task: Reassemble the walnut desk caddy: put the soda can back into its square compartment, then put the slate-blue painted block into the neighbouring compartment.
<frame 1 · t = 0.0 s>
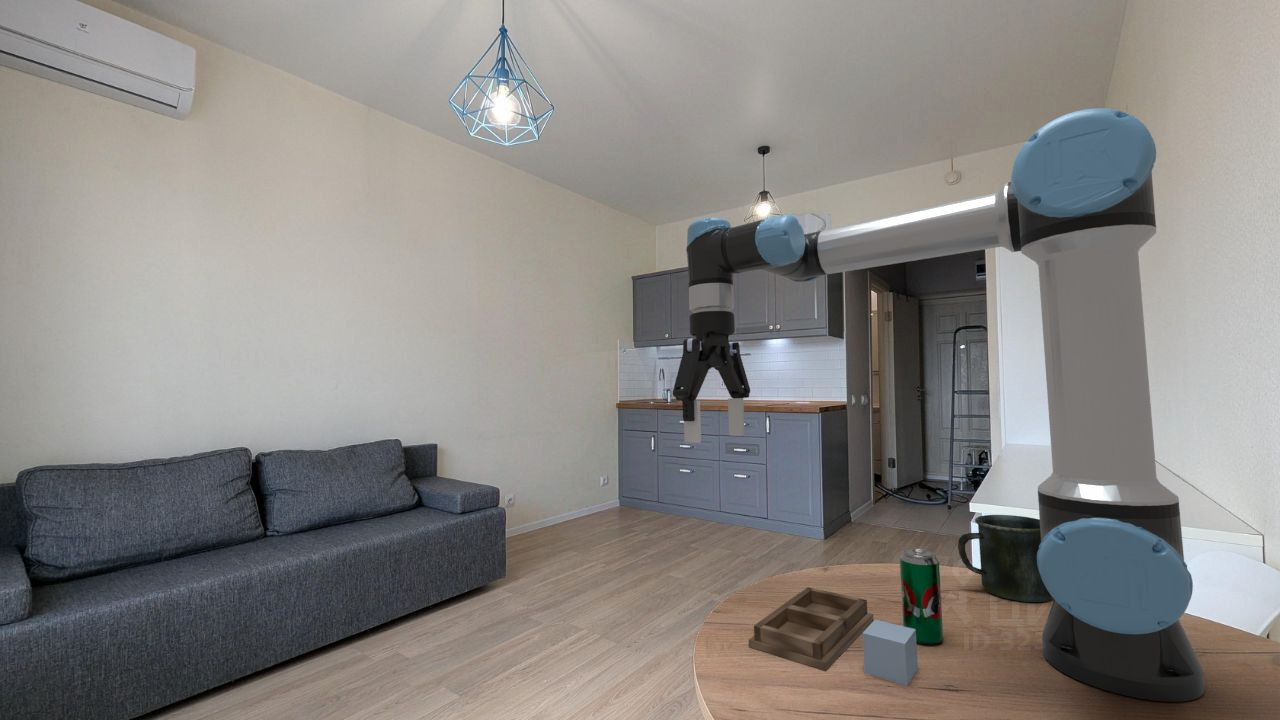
hand: (716, 438, 91), 28 cm above the table, fingers open, 13 cm apart
caddy: (813, 633, 80), on the table
mug: (1007, 593, 94), on the table
soda can: (923, 639, 78), on the table
block: (891, 671, 69), on the table
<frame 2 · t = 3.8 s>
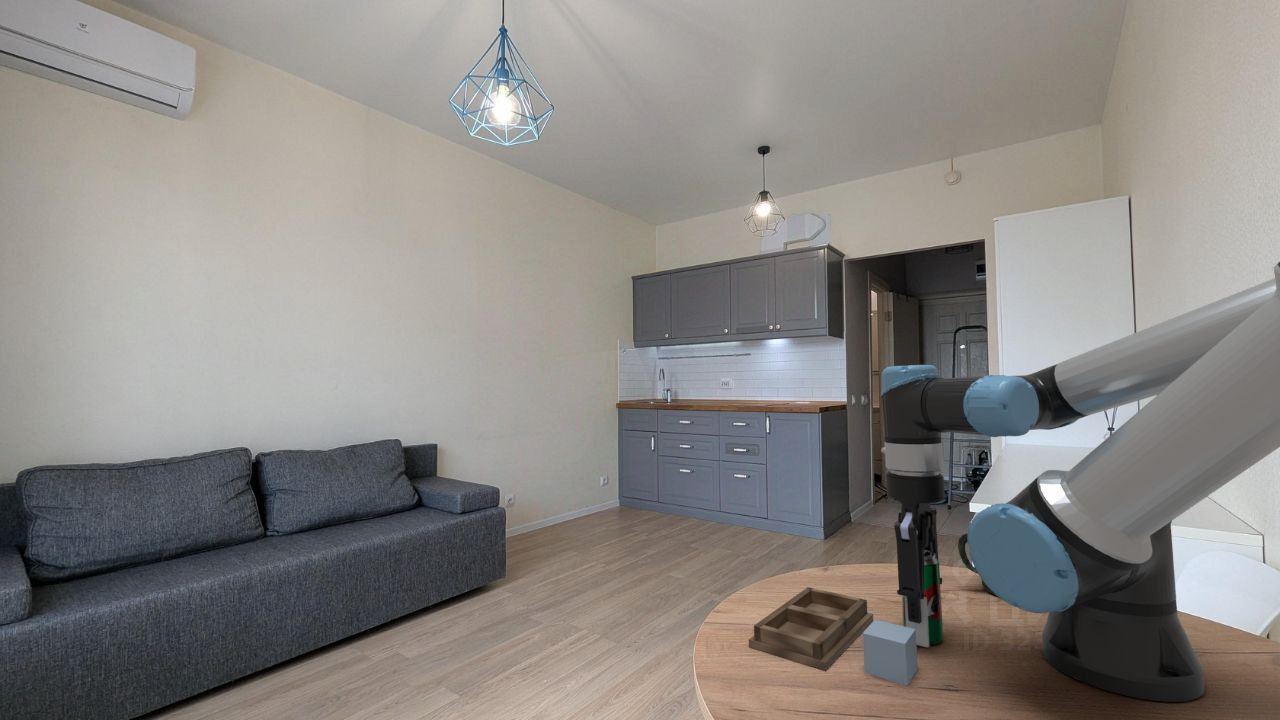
hand: (923, 636, 78), 0 cm above the table, fingers closed on soda can, 5 cm apart
soda can: (923, 639, 78), on the table, touching gripper
everything else where it was.
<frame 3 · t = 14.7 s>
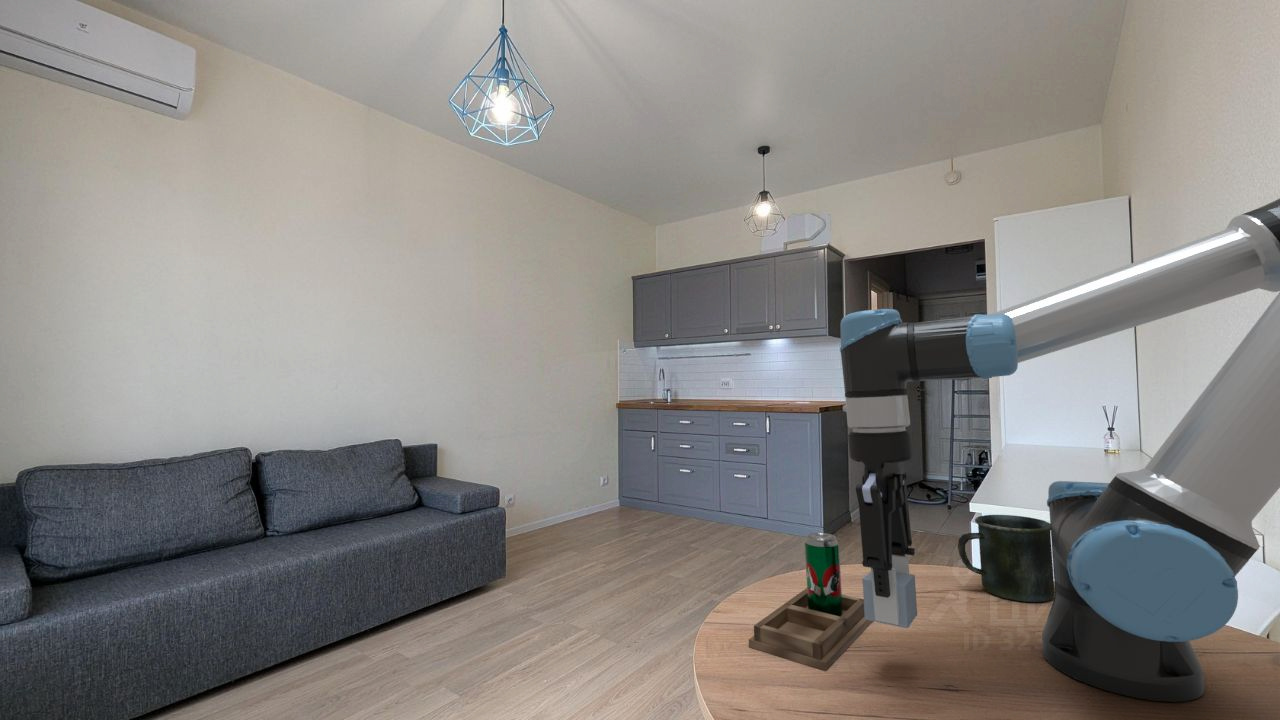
hand: (894, 613, 69), 7 cm above the table, fingers closed on block, 5 cm apart
soda can: (825, 617, 84), point 1 cm above the table, touching caddy
block: (891, 616, 70), point 7 cm above the table, touching gripper
everything else where it was.
when the fingers open (2 cm above the table, at t = 19.6 s): block stays where it is, resting on caddy.
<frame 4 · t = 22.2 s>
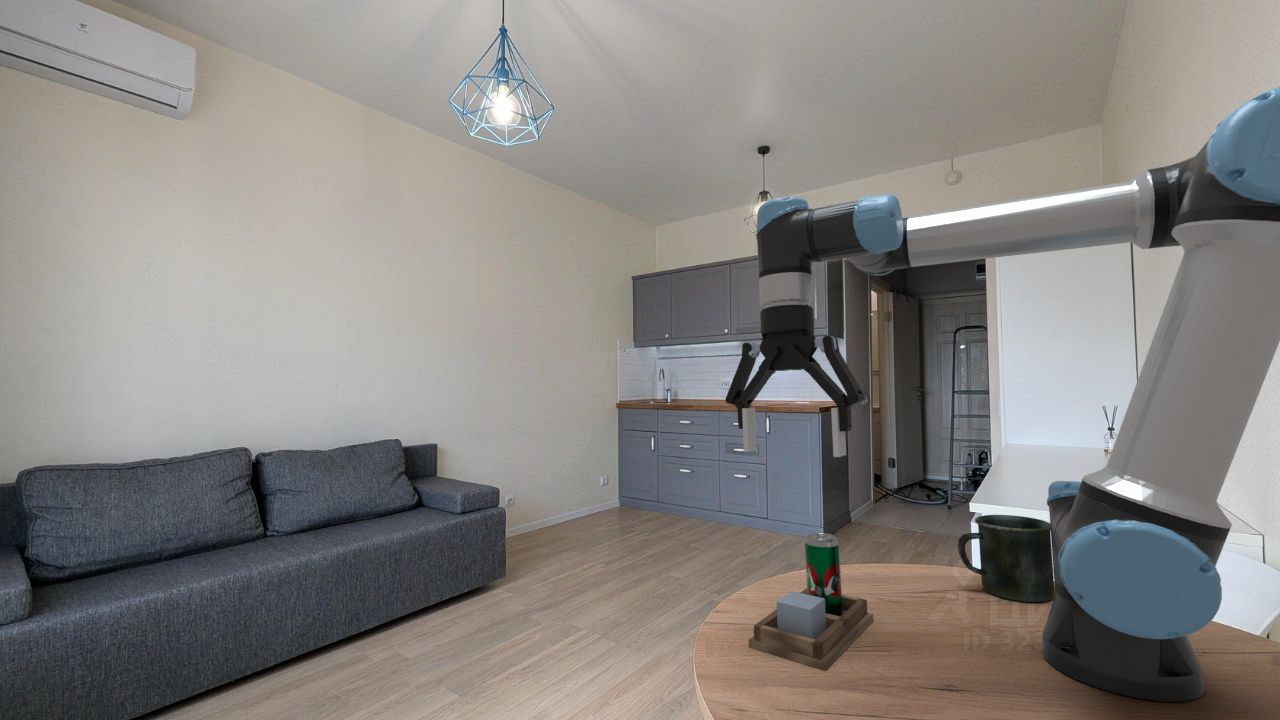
hand: (792, 453, 79), 27 cm above the table, fingers open, 13 cm apart
block: (802, 636, 77), point 1 cm above the table, touching caddy
everything else where it was.
at the end: soda can inside the target area on the caddy (0.1 cm from its centre), point 0.8 cm above the caddy's base; soda can tilted 1°; block inside the target area on the caddy (0.4 cm from its centre), point 1.0 cm above the caddy's base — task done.
